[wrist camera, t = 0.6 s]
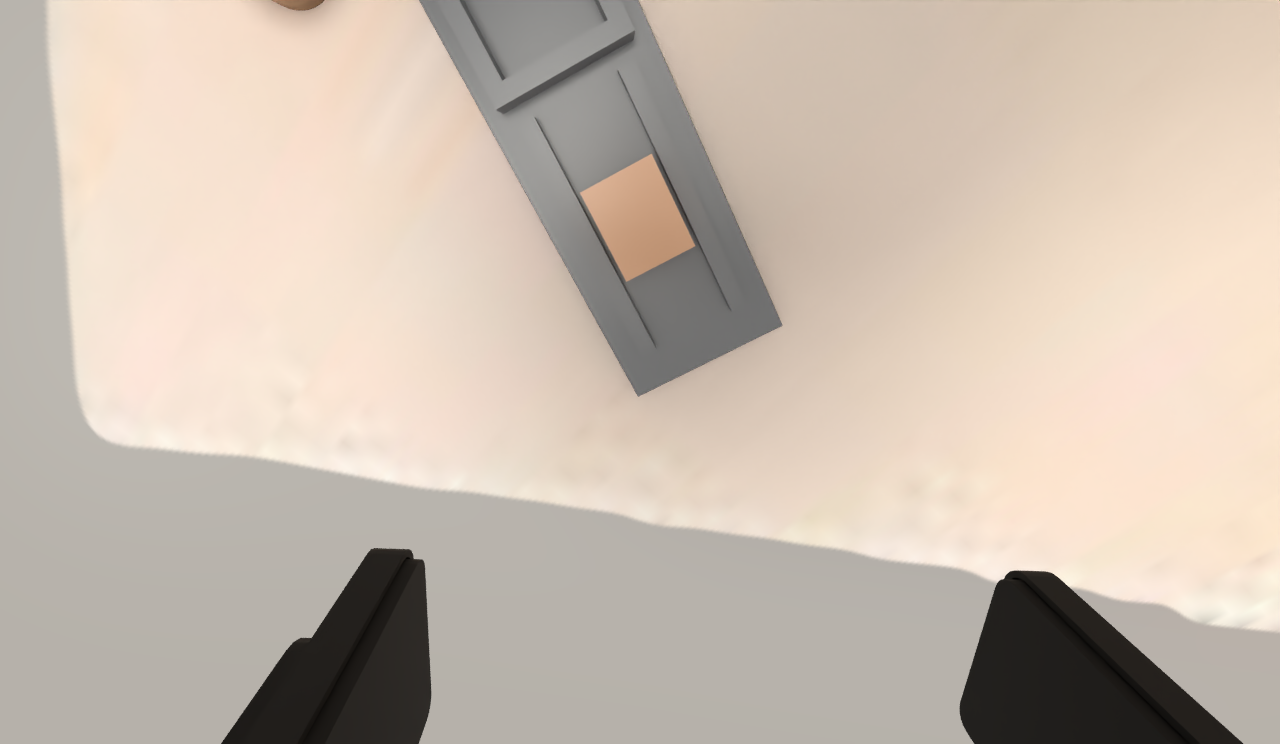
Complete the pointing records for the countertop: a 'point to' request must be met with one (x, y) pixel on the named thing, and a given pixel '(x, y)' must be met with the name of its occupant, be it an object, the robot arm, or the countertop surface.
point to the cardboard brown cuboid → (638, 218)
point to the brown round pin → (299, 4)
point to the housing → (610, 169)
